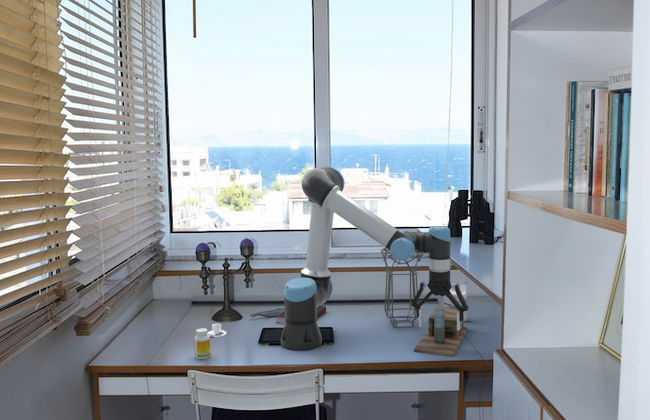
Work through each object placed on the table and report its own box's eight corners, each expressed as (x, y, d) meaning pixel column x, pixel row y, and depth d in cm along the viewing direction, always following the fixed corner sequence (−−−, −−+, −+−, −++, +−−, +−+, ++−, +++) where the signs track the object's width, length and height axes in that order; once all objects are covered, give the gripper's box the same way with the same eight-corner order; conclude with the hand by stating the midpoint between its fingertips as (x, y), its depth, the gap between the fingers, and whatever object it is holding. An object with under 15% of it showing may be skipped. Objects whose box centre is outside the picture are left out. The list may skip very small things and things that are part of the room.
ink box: (443, 320, 249) (443, 285, 247) (446, 317, 253) (447, 282, 252) (463, 322, 245) (463, 287, 243) (466, 319, 249) (467, 284, 248)
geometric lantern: (384, 330, 236) (384, 242, 233) (380, 319, 252) (380, 236, 248) (425, 329, 237) (425, 241, 233) (418, 318, 252) (418, 235, 248)
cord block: (446, 344, 216) (447, 311, 215) (430, 342, 218) (430, 310, 217) (457, 327, 236) (457, 297, 235) (441, 325, 238) (442, 295, 237)
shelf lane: (454, 356, 207) (454, 333, 206) (413, 351, 212) (413, 329, 211) (468, 329, 236) (468, 309, 236) (432, 325, 242) (432, 306, 241)
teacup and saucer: (208, 339, 230) (208, 329, 230) (201, 334, 237) (200, 324, 237) (230, 335, 235) (229, 325, 235) (221, 330, 242) (221, 320, 241)
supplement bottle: (191, 357, 210) (190, 330, 209) (204, 353, 214) (203, 326, 213) (200, 360, 207) (199, 333, 206) (213, 356, 211) (212, 329, 210)
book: (326, 313, 264) (326, 305, 263) (306, 327, 244) (306, 318, 243) (297, 310, 269) (297, 302, 269) (275, 324, 249) (275, 315, 249)
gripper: (476, 269, 215) (476, 327, 217) (408, 265, 224) (408, 321, 226) (473, 274, 208) (473, 334, 210) (402, 269, 217) (403, 327, 219)
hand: (439, 327), depth 218 cm, fingers open, 13 cm apart
